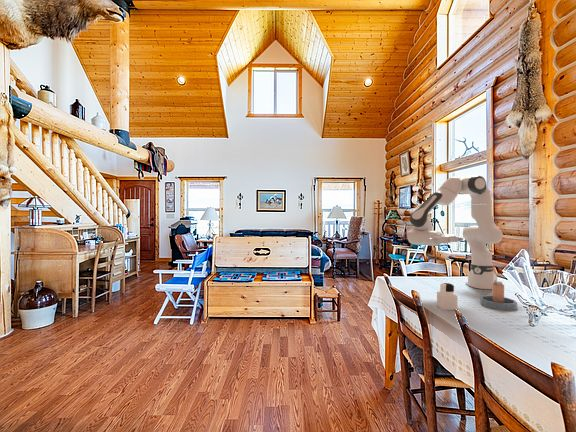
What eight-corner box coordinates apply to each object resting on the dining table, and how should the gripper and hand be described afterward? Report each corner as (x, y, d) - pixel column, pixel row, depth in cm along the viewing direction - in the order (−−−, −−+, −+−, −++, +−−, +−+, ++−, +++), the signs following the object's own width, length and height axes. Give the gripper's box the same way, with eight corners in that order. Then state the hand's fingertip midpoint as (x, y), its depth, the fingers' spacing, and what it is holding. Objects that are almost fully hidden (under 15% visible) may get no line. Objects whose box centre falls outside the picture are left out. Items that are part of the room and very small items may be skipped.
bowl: (487, 299, 165) (487, 294, 165) (521, 306, 153) (521, 300, 153) (475, 304, 156) (475, 298, 156) (510, 312, 144) (510, 306, 144)
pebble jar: (494, 302, 158) (494, 279, 158) (505, 304, 154) (505, 281, 154) (490, 303, 155) (490, 281, 155) (502, 306, 151) (502, 282, 151)
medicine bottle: (451, 306, 154) (451, 282, 154) (457, 310, 147) (457, 285, 147) (436, 305, 155) (436, 282, 154) (442, 309, 147) (442, 285, 147)
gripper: (428, 234, 174) (455, 235, 165) (439, 232, 189) (465, 233, 179) (428, 245, 174) (455, 246, 165) (439, 242, 189) (464, 244, 179)
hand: (460, 239), depth 172 cm, fingers open, 8 cm apart
